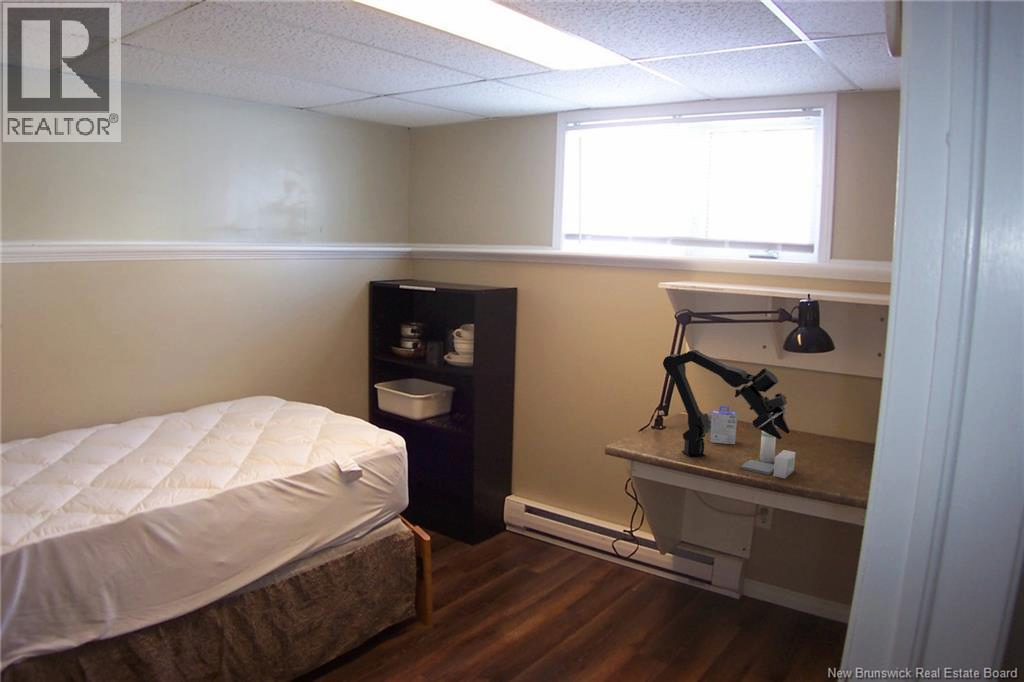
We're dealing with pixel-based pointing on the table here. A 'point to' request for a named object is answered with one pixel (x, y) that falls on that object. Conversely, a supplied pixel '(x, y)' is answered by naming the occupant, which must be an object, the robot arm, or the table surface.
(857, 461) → the table surface
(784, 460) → the block
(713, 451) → the table surface
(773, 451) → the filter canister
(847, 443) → the table surface
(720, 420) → the ink cartridge box
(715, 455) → the table surface
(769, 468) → the dock mat
